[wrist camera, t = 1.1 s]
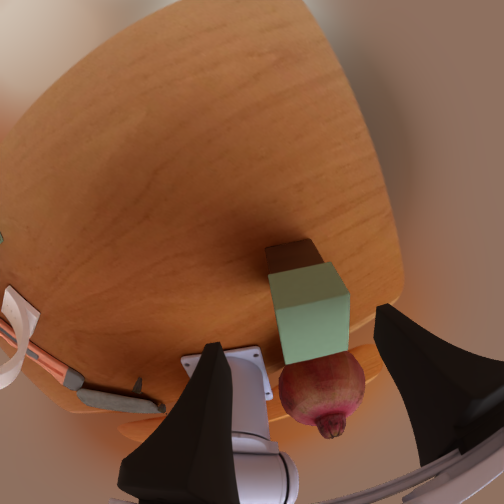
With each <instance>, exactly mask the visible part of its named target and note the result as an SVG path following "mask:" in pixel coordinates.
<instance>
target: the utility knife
mask: <svg viewBox="0 0 504 504" xmlns="http://www.w3.org/2000/svg"><path fill="white" fill-rule="evenodd" d="M0 336H1V337H3V338H4V339H5V340H6V341H7V342H8V343H9V344H10V345H12V346H13V347H14V348H17V349H18V344H17V339H16V335H15V332H14V329H13V328H12V327H10V326H9V325H8V324H7V323H5V322H4V321H3V320H2V319H1V318H0ZM25 355H26V356H28V357H29V358H31V359H32V360H33V361H35V362H36V363H38V364H39V365H41V366H42V367H43V368H44V369H46V370H47V371H48V372H49V373H50V374H51V375H53V376H54V377H55V378H56V379H57V380H58V381H59V382H60V384H62V385H64V386H65V387H67V388H69V389H70V390H75V391H77V390H79V389H81V387H82V385H83V382H84V380H85V379H84V377H83V376H82V375H81V374H80V373H78V372H77V371H75V370H73V369H71V368H70V367H68V366H67V365H65V364H63V363H62V362H60V361H58V360H57V359H55V358H54V357H52V356H51V355H49V354H48V353H46V352H45V351H43V350H42V349H40V348H39V347H37V346H36V345H34V344H33V343H32V342H30V341H29V343H28V347H27V350H26V354H25Z"/></svg>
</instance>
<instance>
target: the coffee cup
mask: <svg viewBox="0 0 504 504" xmlns="http://www.w3.org/2000/svg"><path fill="white" fill-rule="evenodd" d="M1 312H2V313H3V314H4V315H5V316H6V317H7V319H8V320H9V322H10V323H11V325H12V327H13V329H14V332H15V335H16V339H17V344H18V350H17V352H16V354H15V355H14V356H13V357H12V358H11V359H10V360H9V361H8V362H6V363H5V364H3V365H0V389H2V388H4V387H6V386H7V385H9V384H10V383H12V381H14V379H15V378H16V377H17V375H18V374H19V372H20V370H21V367H22V364H23V360H24V357H25V354H26V350H27V347H28V343H29V337H31V336H32V334H33V332H34V330H35V327H36V324H37V321H38V319H39V316H40V313H39V312H38V311H37V310H36V309H35V308H34V307H32V306H31V305H30V304H29V303H28V302H27V301H26V300H25V299H23V298H22V297H21V296H20V295H19V294H18V293H17V292H16V291H15V290H14V289H13V288H12V287H11V286H10V285H9V286H8V287H7V288H6V289H5V294H4V299H3V304H2V309H1Z"/></svg>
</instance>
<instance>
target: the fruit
mask: <svg viewBox="0 0 504 504" xmlns="http://www.w3.org/2000/svg"><path fill="white" fill-rule="evenodd" d="M364 390H365V376H364V371H363V369H362V367H361V366H360V364H359V363H358V361H357V360H356V359H355V357H354V356H353V355H352V354H351V353H349V352H348V351H342V352H338V353H335V354H331V355H327V356H323V357H318V358H314V359H310V360H305V361H301V362H296V363H291V364H286V365H285V367H284V369H283V371H282V373H281V375H280V377H279V395H280V400H281V403H282V406H283V408H284V409H285V411H286V413H287V414H289V415H290V416H291V417H293V418H294V419H295V420H296V421H298V422H299V423H302V424H305V425H311V426H317V427H318V430H319V432H320V433H321V435H322V436H323V437H324V438H326V439H330V438H332V439H333V438H334V437H338V436H340V435H342V433H343V432H344V429H345V426H346V417H348V416H350V415H351V414H352V413H353V412H354V411H355V410H356V409H357V408H358V407H359V405H360V404H361V403H362V400H363V396H364Z"/></svg>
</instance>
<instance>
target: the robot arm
mask: <svg viewBox="0 0 504 504" xmlns="http://www.w3.org/2000/svg"><path fill="white" fill-rule="evenodd" d="M373 338H374V340H375V343H376V346H377V349H378V351H379V353H380V356H381V358H382V360H383V362H384V363H385V365H386V367H387V369H388V371H389V373H390V374H391V376H392V378H393V380H394V382H395V384H396V386H397V387H398V389H399V392H400V394H401V396H402V398H403V401H404V404H405V407H406V409H407V412H408V415H409V418H410V421H411V425H412V428H413V432H414V435H415V440H416V444H417V449H418V454H419V459H420V466H421V468H419V469H417V470H415V471H413V472H410V473H408V474H406V475H403V476H401V477H399V478H396V479H394V480H391V481H389V482H386V483H383V484H380V485H378V486H375V487H372V488H369V489H366V490H363V491H360V492H356V493H353V494H350V495H346V496H343V497H339V498H335V499H331V500H327V501H322V502H318V503H313V504H370V503H373V502H376V501H379V500H382V499H385V498H387V497H390V496H392V495H395V494H397V493H400V492H402V491H404V490H407V489H409V488H411V487H414V486H416V485H418V484H420V483H422V482H424V481H426V480H428V479H430V478H432V477H434V476H435V478H434V479H432V480H430V481H429V482H427V483H425V484H423V485H421V486H419V487H417V488H415V489H414V490H413V491H412V492H411V493H409V494H408V495H406V496H404V497H403V498H402V501H403V503H402V504H460V503H462V502H463V501H465V500H466V499H468V498H469V497H471V496H472V495H474V494H475V493H476V492H478V491H479V490H481V489H482V488H483V487H485V486H486V485H487V484H488V483H490V482H491V481H492V480H493V479H495V478H496V477H497V476H499V475H500V474H501V473H502V472H503V471H504V361H499V360H493V359H489V358H486V357H482V356H479V355H476V354H473V353H471V352H468V351H465V350H463V349H461V348H458V347H456V346H454V345H452V344H450V343H448V342H446V341H444V340H442V339H440V338H439V337H437V336H435V335H434V334H432V333H430V332H429V331H427V330H426V329H424V328H423V327H421V326H420V325H418V324H417V323H415V322H414V321H412V320H411V319H409V318H408V317H407V316H405V315H404V314H402V313H401V312H400V311H398V310H397V309H396V308H394V307H393V306H391V305H390V304H388V303H387V304H384V305H380V306H377V307H376V318H375V328H374V337H373ZM181 363H182V365H183V367H184V368H185V370H186V372H187V374H188V375H189V377H190V380H189V382H188V384H187V386H186V387H185V389H184V391H183V393H182V394H181V396H180V398H179V399H178V401H177V403H176V404H175V405H174V407H173V408H172V410H171V411H170V413H169V414H168V415H167V417H166V418H165V419H164V420H163V422H162V423H161V424H160V425H159V426H158V428H157V429H156V430H155V431H154V432H153V433H152V434H151V435H150V436H149V437H148V438H147V439H146V440H145V441H144V442H143V443H142V444H141V445H140V446H139V447H138V448H137V449H135V450H134V451H133V452H132V453H131V454H129V455H128V456H127V457H126V458H124V459H123V460H122V463H121V466H120V471H119V477H118V483H117V486H118V487H119V488H120V489H121V490H122V491H124V492H126V493H128V494H130V495H132V496H134V497H136V498H138V499H139V504H294V503H295V501H296V498H297V495H298V490H299V476H298V471H297V468H296V465H295V463H294V462H293V460H292V459H291V458H290V457H289V455H288V454H287V453H285V452H279V449H278V442H272V441H270V433H269V425H268V416H267V408H266V400H271V399H272V398H273V394H272V391H271V387H270V383H269V380H268V376H267V372H266V369H265V365H264V361H263V357H262V354H261V350H260V348H259V347H258V346H252V347H246V348H240V349H234V350H227V351H223V349H222V346H221V344H220V342H215V343H209V344H206V345H205V347H204V350H203V352H202V354H199V355H190V356H183V357H182V358H181ZM186 363H187V364H186ZM109 504H137V503H133V502H128V501H123V500H119V499H114V498H110V499H109Z"/></svg>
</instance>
